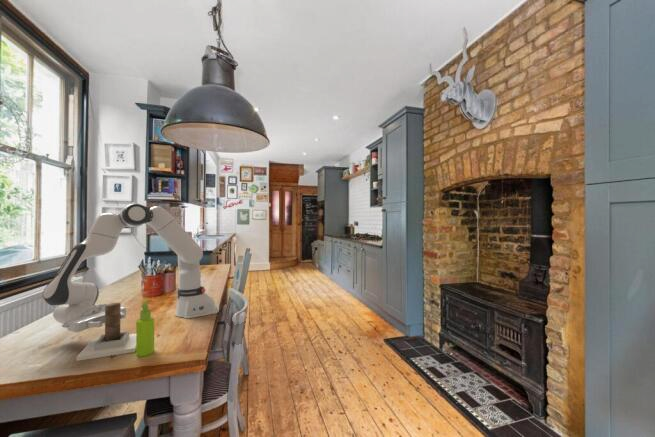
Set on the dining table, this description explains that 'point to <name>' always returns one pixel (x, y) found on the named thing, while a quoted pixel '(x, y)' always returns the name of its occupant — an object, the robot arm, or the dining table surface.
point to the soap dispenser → (145, 332)
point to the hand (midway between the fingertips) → (112, 320)
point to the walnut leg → (112, 321)
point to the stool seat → (109, 347)
